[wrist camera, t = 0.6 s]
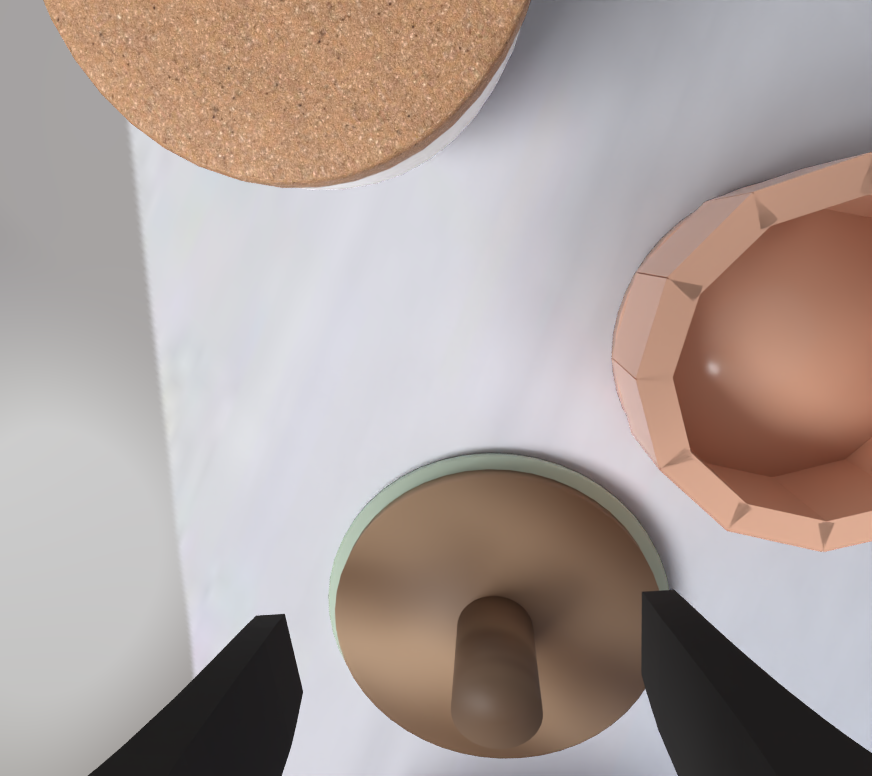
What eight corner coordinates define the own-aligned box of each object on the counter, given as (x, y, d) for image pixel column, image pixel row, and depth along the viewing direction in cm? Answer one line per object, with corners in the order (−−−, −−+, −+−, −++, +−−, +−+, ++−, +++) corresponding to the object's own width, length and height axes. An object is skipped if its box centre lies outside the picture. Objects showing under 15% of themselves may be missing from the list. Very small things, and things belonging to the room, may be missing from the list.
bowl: (866, 517, 20) (956, 581, 16) (576, 454, 21) (597, 502, 17) (1007, 214, 17) (1157, 206, 13) (665, 147, 18) (715, 120, 14)
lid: (606, 771, 24) (635, 898, 19) (320, 702, 24) (281, 810, 20) (702, 510, 20) (766, 589, 16) (366, 436, 21) (332, 491, 16)
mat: (612, 774, 24) (614, 782, 24) (310, 701, 25) (308, 709, 24) (716, 497, 21) (720, 502, 20) (358, 419, 21) (355, 421, 21)
